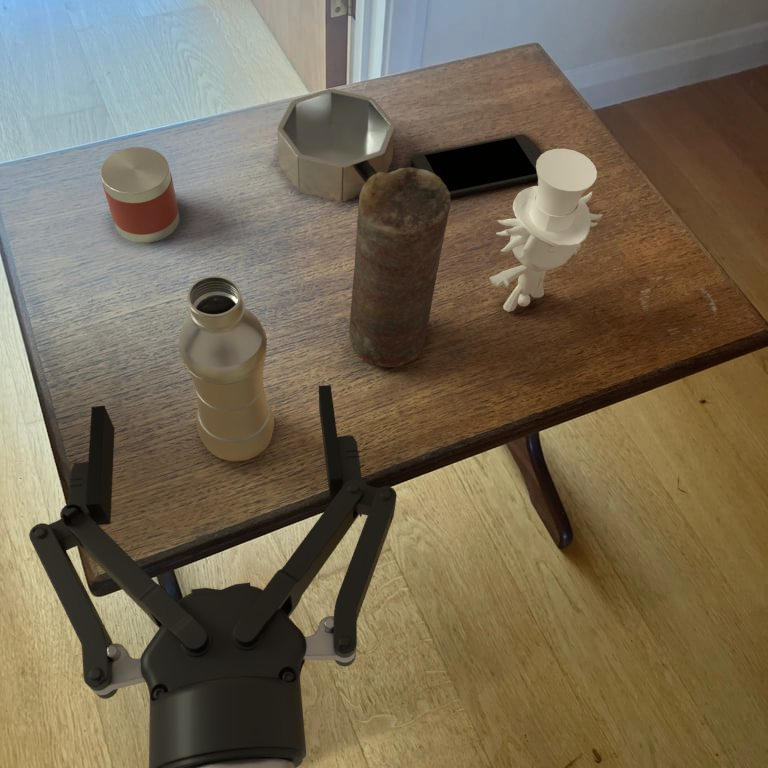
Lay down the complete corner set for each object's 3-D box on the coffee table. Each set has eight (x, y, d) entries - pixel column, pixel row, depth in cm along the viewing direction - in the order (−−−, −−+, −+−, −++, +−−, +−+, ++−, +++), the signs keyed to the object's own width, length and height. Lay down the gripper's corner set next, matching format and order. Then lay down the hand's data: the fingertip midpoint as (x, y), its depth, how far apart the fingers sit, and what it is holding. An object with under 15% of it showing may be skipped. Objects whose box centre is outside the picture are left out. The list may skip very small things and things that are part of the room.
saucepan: (265, 145, 94) (262, 109, 90) (356, 115, 98) (358, 79, 94) (340, 250, 86) (340, 216, 82) (436, 213, 90) (441, 178, 86)
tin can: (103, 235, 85) (87, 184, 79) (131, 191, 89) (117, 140, 83) (164, 250, 85) (152, 200, 79) (189, 205, 88) (180, 155, 82)
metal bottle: (225, 395, 75) (197, 246, 59) (289, 425, 74) (280, 282, 57) (185, 450, 72) (144, 309, 55) (252, 482, 71) (231, 348, 54)
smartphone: (407, 159, 94) (408, 153, 93) (525, 136, 98) (527, 130, 97) (430, 204, 90) (431, 198, 90) (552, 179, 94) (554, 173, 93)
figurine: (503, 351, 80) (546, 220, 65) (459, 298, 83) (489, 161, 68) (585, 310, 84) (643, 176, 69) (539, 260, 87) (584, 123, 72)
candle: (425, 377, 78) (453, 229, 61) (348, 375, 77) (355, 225, 61) (422, 314, 82) (448, 159, 65) (349, 311, 82) (356, 155, 65)
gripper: (-15, 827, 41) (26, 457, 53) (471, 754, 44) (408, 419, 56) (-77, 808, 35) (-16, 392, 46) (494, 724, 38) (418, 354, 49)
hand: (215, 406), depth 51 cm, fingers open, 13 cm apart
